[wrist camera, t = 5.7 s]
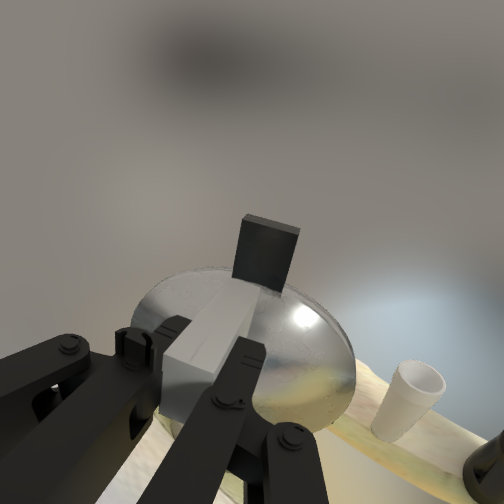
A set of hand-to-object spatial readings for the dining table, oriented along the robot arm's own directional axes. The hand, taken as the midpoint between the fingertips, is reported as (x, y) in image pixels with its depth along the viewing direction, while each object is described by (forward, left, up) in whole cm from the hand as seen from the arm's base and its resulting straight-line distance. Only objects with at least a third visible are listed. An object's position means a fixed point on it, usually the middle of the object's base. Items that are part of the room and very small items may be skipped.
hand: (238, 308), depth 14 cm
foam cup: (-36, +5, -30) cm, 47 cm away
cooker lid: (-4, -3, -7) cm, 9 cm away
